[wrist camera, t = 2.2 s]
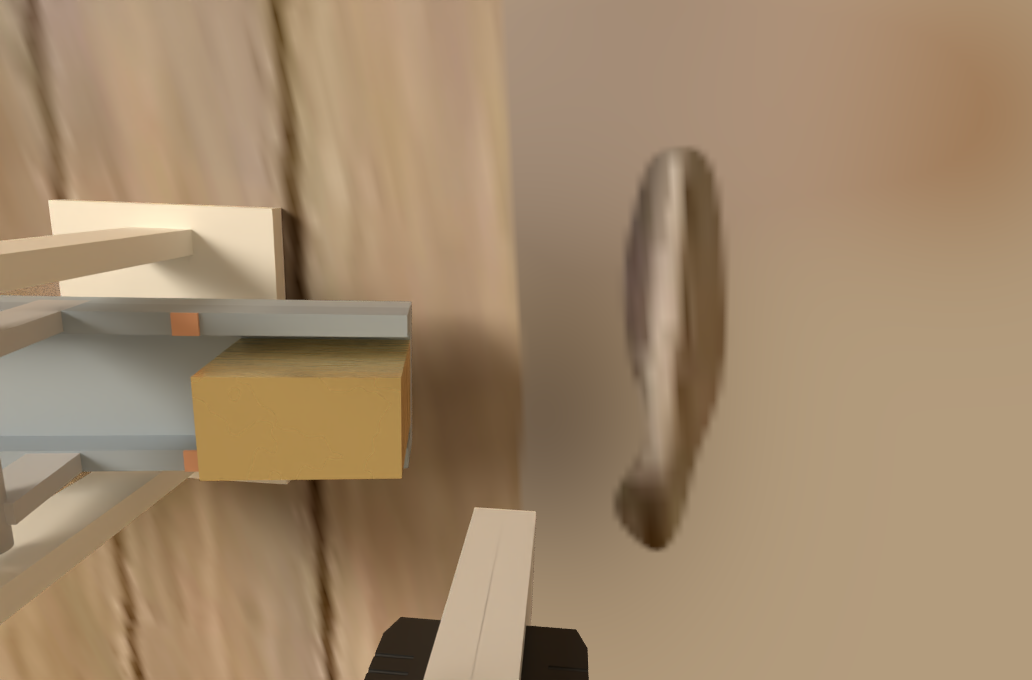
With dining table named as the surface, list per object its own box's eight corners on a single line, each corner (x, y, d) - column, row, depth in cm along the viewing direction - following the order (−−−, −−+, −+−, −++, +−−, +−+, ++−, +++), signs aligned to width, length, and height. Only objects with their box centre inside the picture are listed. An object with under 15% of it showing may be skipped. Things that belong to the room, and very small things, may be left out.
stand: (63, 199, 32) (-371, 216, 17) (281, 207, 32) (23, 233, 17) (97, 463, 36) (-243, 667, 21) (294, 476, 35) (90, 697, 20)
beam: (-302, 268, 26) (-611, 306, 19) (411, 281, 29) (397, 319, 21) (-250, 464, 28) (-510, 571, 21) (412, 458, 31) (399, 550, 23)
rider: (240, 338, 28) (190, 377, 22) (410, 339, 28) (400, 377, 23) (246, 423, 28) (199, 480, 23) (410, 423, 29) (401, 478, 24)
